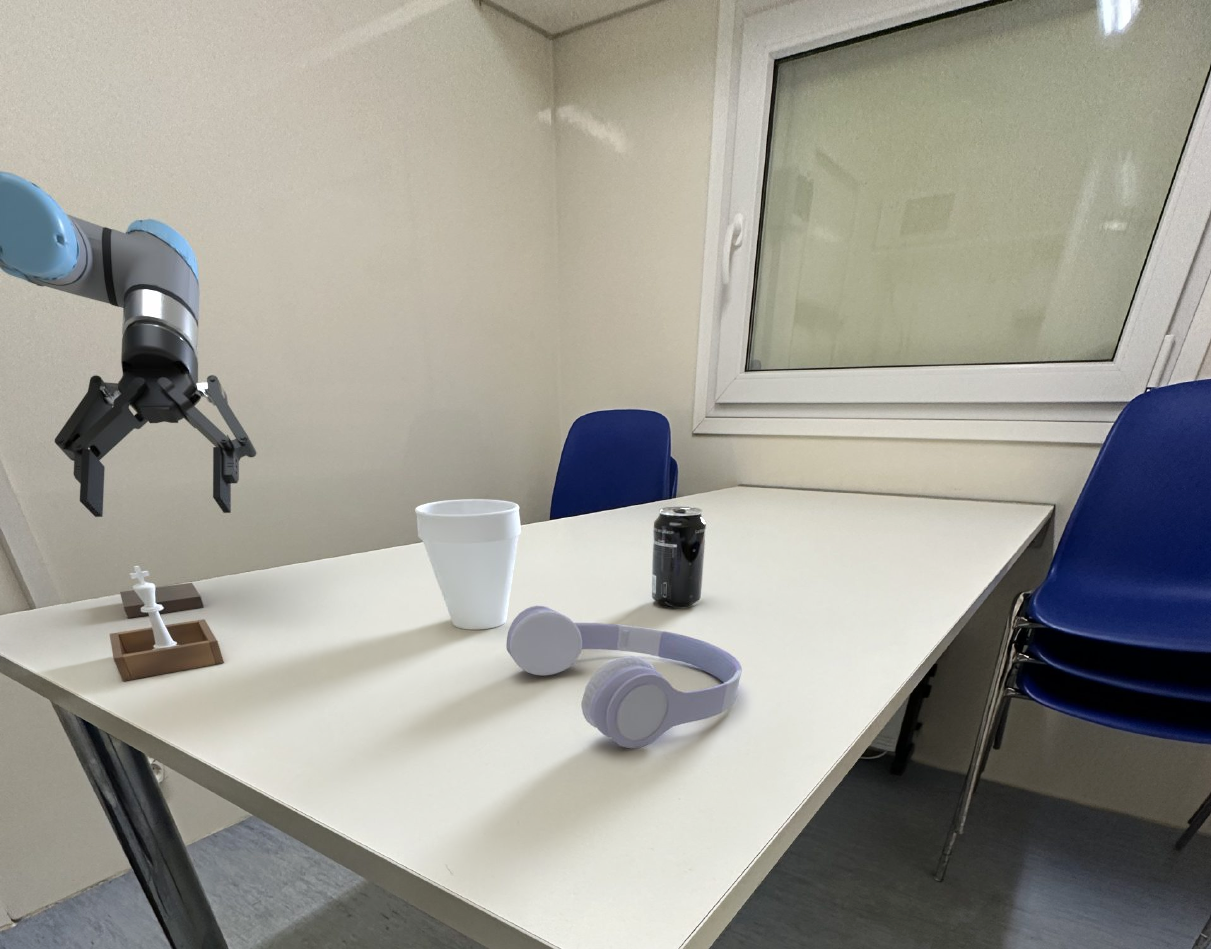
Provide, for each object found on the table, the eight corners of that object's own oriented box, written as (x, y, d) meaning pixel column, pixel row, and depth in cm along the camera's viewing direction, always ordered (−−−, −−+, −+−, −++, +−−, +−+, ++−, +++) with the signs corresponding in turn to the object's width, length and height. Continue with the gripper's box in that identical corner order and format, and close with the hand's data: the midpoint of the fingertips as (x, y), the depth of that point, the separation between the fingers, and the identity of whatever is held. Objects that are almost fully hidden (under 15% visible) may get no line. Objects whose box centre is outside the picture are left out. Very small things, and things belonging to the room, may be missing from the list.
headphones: (596, 758, 54) (785, 723, 63) (601, 675, 51) (800, 649, 59) (499, 671, 71) (659, 652, 79) (498, 603, 67) (665, 591, 76)
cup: (511, 639, 80) (502, 516, 73) (415, 633, 82) (396, 513, 75) (537, 609, 90) (531, 499, 83) (451, 605, 92) (437, 497, 85)
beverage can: (693, 595, 96) (699, 505, 90) (706, 609, 90) (713, 513, 84) (647, 597, 95) (649, 506, 89) (656, 611, 90) (660, 514, 83)
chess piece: (138, 659, 75) (101, 567, 69) (184, 648, 78) (153, 558, 72) (155, 670, 72) (118, 574, 67) (202, 658, 75) (171, 565, 70)
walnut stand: (128, 618, 88) (123, 607, 87) (124, 602, 94) (119, 591, 93) (204, 607, 92) (200, 596, 91) (195, 592, 98) (192, 582, 98)
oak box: (122, 681, 69) (113, 658, 68) (118, 655, 76) (109, 633, 75) (224, 662, 74) (217, 640, 72) (211, 639, 81) (204, 618, 79)
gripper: (283, 375, 85) (286, 524, 80) (67, 377, 81) (58, 531, 77) (259, 320, 77) (262, 480, 73) (21, 319, 74) (8, 487, 70)
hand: (157, 507), depth 75 cm, fingers open, 13 cm apart
